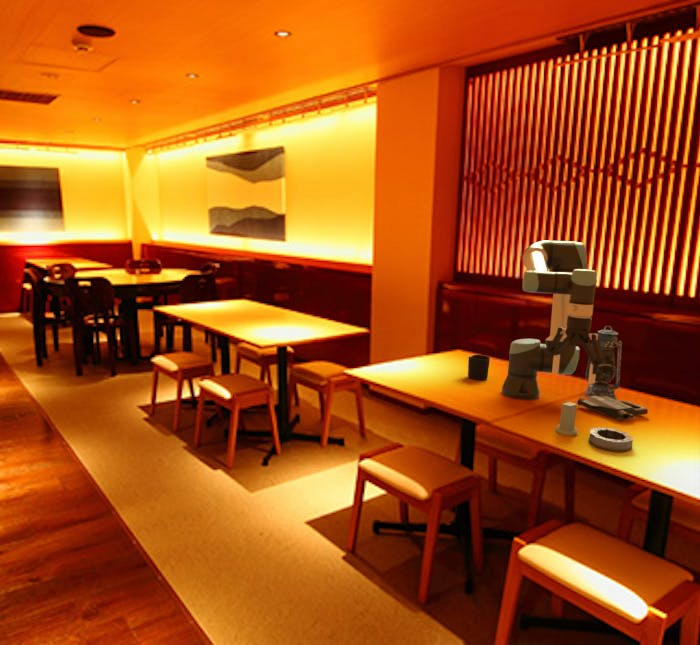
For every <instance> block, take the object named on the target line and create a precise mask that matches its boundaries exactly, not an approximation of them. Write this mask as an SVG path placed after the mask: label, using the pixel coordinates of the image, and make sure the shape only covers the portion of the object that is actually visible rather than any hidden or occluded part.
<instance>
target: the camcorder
mask: <svg viewBox="0 0 700 645" xmlns="http://www.w3.org/2000/svg"><path fill="white" fill-rule="evenodd" d="M576 404H577V406H580V407H581V406H582V407H584V408H587V409H589V410H591V411H594V410H595V412H598V413H600V414H602V415H604V416H607V417H608V418H611V419H613V420H615V421H619V420H621V421H625V422H626V421H628V419H629V420H630V419H633V418H635V416H643V415H648V408H646V407H645V406H642V405H639V404H638V403H637V404H636V403H633V402H631V401H628V400H619V399H618V400H617V399H612V398H610V397H608V396H604V397H598V396H590V397H589V396H588V398H587V399H585V398H584V397H580V398H578V400H577V402H576Z"/></svg>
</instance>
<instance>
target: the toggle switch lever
mask: <svg viewBox="0 0 700 645" xmlns="http://www.w3.org/2000/svg"><path fill="white" fill-rule="evenodd" d="M577 407H578V404H577V403H574V402H571V401H568V402H565V403H562V404H561V411H560V412H561V413H560V420H559V422H560V423H559V425H557V426H556V427H555V432H556V433H557V434H558V435H561V434H562V436H565V435H566V437H575V435H576V436H578V432H579V430H578V429H577V428H576V427H575V424H576V415H577V409H578V408H577Z"/></svg>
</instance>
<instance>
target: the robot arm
mask: <svg viewBox="0 0 700 645" xmlns="http://www.w3.org/2000/svg"><path fill="white" fill-rule="evenodd" d="M586 248H587V247H586V246H585V244H584V243H583V242H578V241H573V240H572V241H571V240H570V241H568V240H567V241H566V240H547V239H546V240H545V239H544V240H540V241H537V242H534V243H533V244H530V245H529V246H528V247H526V249H525V250H524V252H523V253H522V263H523V266H525V268H526V271H524V272H523V274H522V275H523V276H522V290H523V291H524V292H526V293H532V294H535V293H537V294H538V293H539V294H550V295H551V294H553V296H552V304H551V307H552V308H551V320H550V331H549V332H550V333H549V336H548V337H546V338H545V343H541V340H540V339H537V338H520V339H515V340H514V341H512V342H511V343H510V348H509V352H508V353H509V357H508V358H509V359H508V368H507V375H506V378H505V379H504V382H503V385H502V386H501V394H503V395H504V396H506V397H509V398H511V399H515V400H516V399H517V400H525V401H526V400H528V401H529V400H536V399H539V398H540V394H541V393H540V392H541V391H540V387H539V383H538V382H539V381H538V373H548V374H552V375H572V374H574V372H575V371H576V369H577V366H578V362H579V360H580V352H581V351H580V350H581V349H580V348H581V347H582V348H583V349H584V350H585V353H586V354H587V356H588V359H589V358H590V359H591V361H592V364H590V371H589V380H588V381H587V383H588V384H592V383H595V382H596V381H595V377H596V374H598V371H599V365H600V364H603V363H606V360H605V357H604V354H603V351H602V348H601V345H600V342H599V333H591V327H592V321H593V320H592V317H593V312H594V304H595V303H594V301H595V294H596V285H597V282H598V281H597V280H598V279H597V274H598V273H597V270H594V269H587V264H588V256H587V255H588V254H587V249H586ZM549 270H550V271H549ZM590 341H591V342H590ZM591 344H592V345H593V348H594V350H593V348H592V347H591ZM576 345H577V346H576ZM578 345H579V346H581V347H579V346H578ZM588 384H587V385H588Z"/></svg>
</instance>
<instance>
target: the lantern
mask: <svg viewBox="0 0 700 645" xmlns="http://www.w3.org/2000/svg"><path fill="white" fill-rule="evenodd" d="M607 328H610V329H607ZM597 333H598V334H599V342H600V345H601V348H602V351H603V354H604V357H605V360H606V363H603V364H600V365H599V371H598V374H596V377H595V383H592V384H587V387H586V390H585V391H584V395H585V396H586V397H588V398H589V397H590V396H598V397H604V396H608V397H610V398H612V399H615V398H616V399H617V396H616V390H618V389H619V388H620V385H621V383H620V380H621V366H622V365H621V363H622V345H623V342H622V341H621V340H619V341H618V337H617V335H619V333H618V332H617V331H615V330H613V328H612V326H611V325H605V326H604V327H603V329H601V330H597ZM591 347H592V348H593V345H592V343H591ZM615 348H617V352H616V353H617V356H616V360H615V353H614V349H615ZM593 350H594V348H593ZM590 364H593V363H592V361H591V359H590V358H589V357H588V362H587V365H586V366H587V367H586V372H585V380H586V381H587V382H588V380H589V371H590ZM614 377H615V382H614V383H615V384H614V385H610V384H609V383H611V381H612V380H613V379H614ZM616 399H615V400H616Z"/></svg>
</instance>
